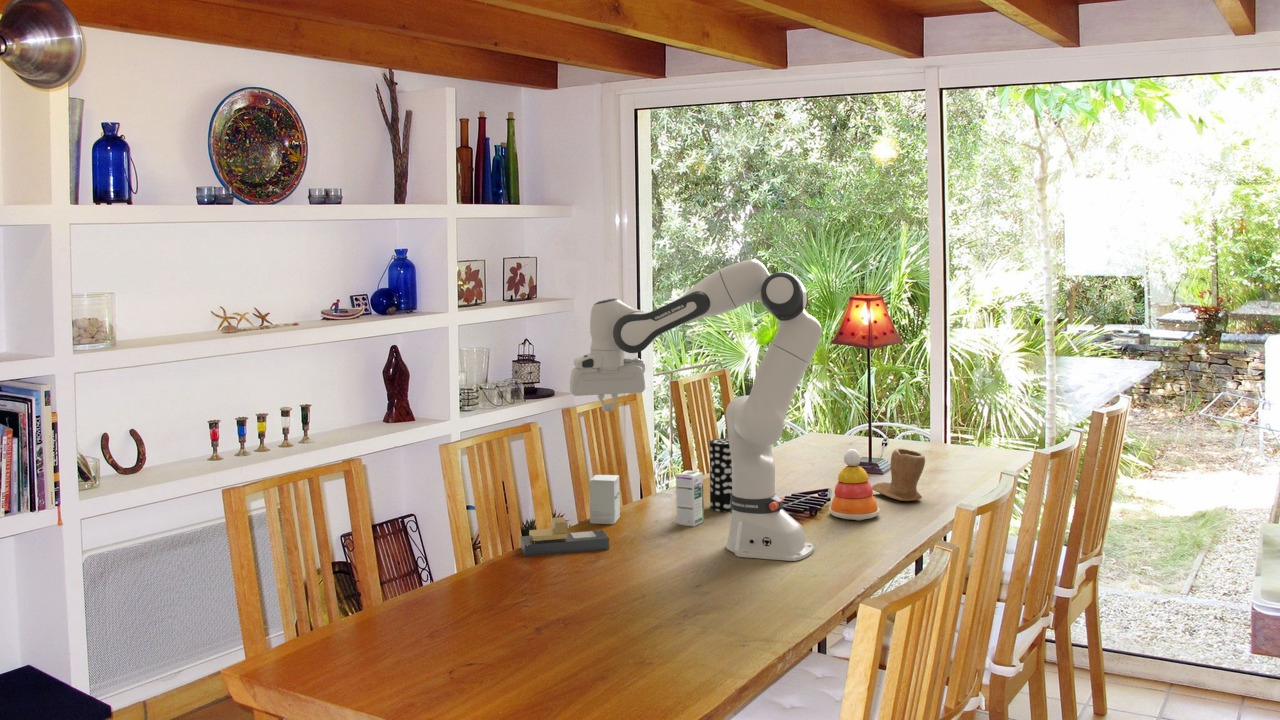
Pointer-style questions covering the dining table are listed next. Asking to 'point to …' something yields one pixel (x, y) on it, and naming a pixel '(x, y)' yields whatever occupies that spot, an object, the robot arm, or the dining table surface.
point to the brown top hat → (903, 476)
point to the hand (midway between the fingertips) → (608, 410)
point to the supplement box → (604, 499)
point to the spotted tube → (720, 475)
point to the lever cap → (551, 531)
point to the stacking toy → (853, 491)
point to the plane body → (566, 543)
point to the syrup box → (689, 498)
